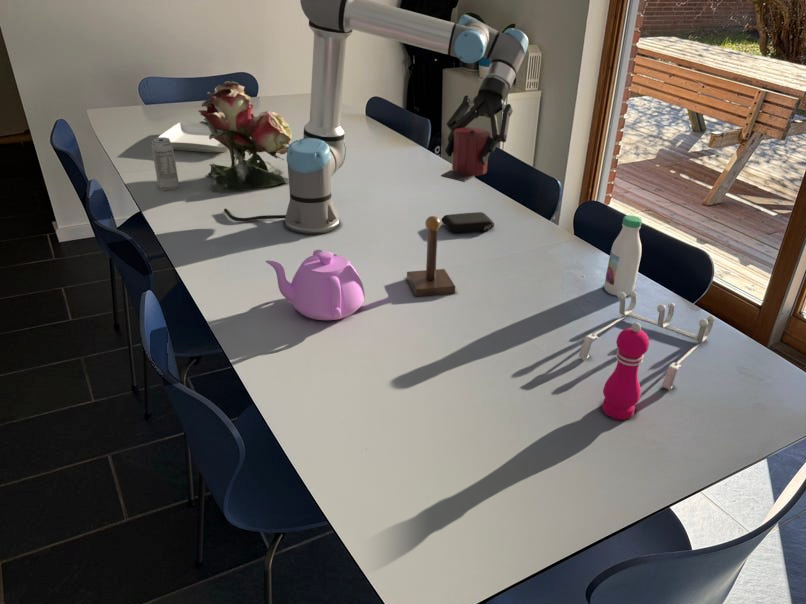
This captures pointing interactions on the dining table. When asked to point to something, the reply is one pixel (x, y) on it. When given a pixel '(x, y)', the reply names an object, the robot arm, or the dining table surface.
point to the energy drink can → (164, 163)
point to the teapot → (322, 286)
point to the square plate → (193, 138)
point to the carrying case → (467, 222)
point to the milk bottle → (624, 258)
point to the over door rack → (702, 335)
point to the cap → (468, 154)
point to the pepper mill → (625, 374)
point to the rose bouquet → (244, 139)
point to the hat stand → (431, 268)
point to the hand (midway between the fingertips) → (465, 157)
